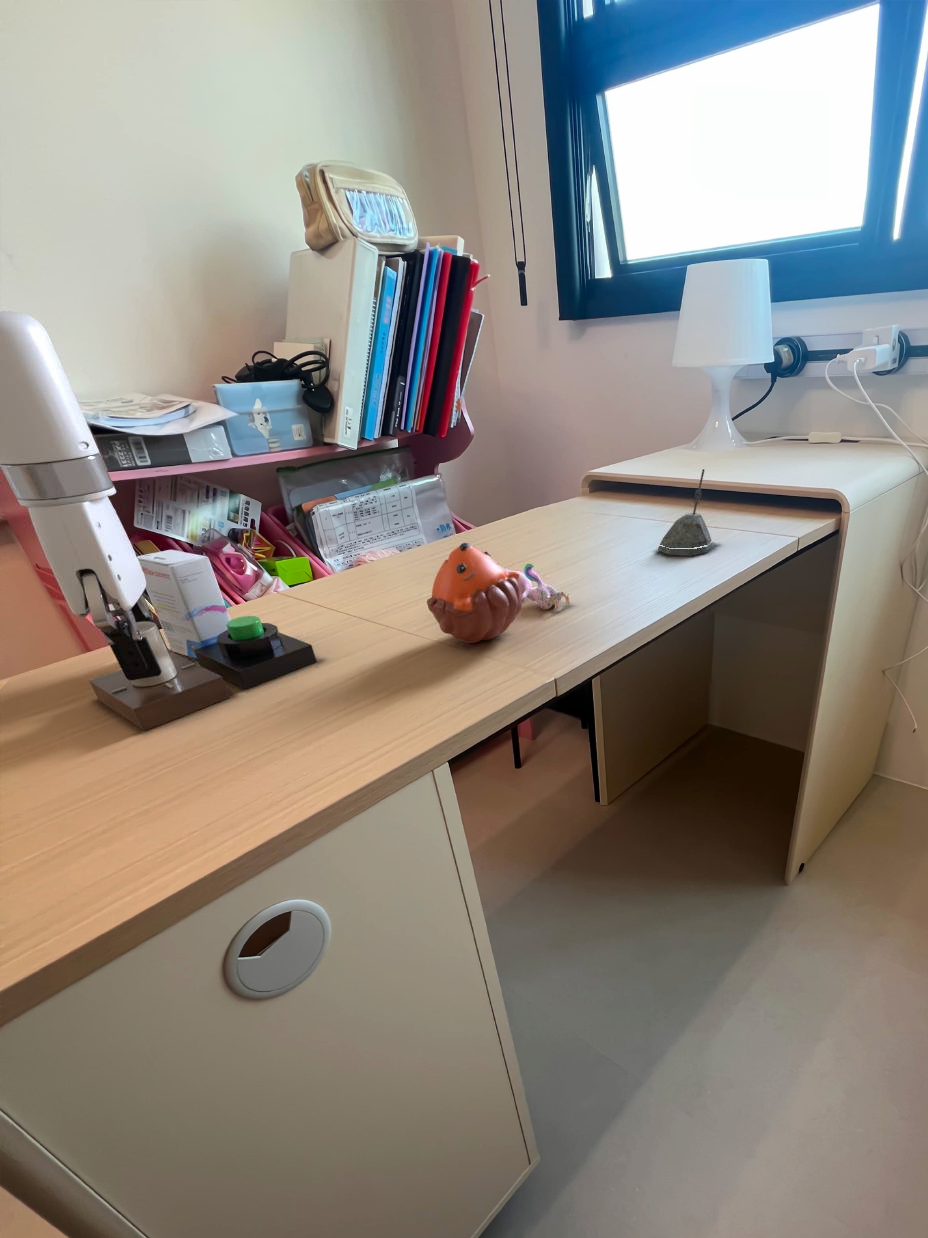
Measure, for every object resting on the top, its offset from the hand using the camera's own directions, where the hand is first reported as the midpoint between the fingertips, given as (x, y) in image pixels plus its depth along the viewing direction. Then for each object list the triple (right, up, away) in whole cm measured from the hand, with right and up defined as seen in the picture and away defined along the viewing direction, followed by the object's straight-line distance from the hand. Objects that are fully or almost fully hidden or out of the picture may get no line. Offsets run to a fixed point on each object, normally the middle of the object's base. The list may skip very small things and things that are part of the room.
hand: (149, 665), depth 69 cm
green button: (+7, +5, +7) cm, 11 cm away
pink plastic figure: (+37, +14, +24) cm, 47 cm away
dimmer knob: (0, -1, +1) cm, 1 cm away
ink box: (-2, +4, +14) cm, 14 cm away
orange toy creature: (+33, +6, +13) cm, 36 cm away
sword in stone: (+64, +29, +43) cm, 82 cm away
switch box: (+7, +2, +9) cm, 12 cm away
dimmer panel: (0, -3, +2) cm, 4 cm away
